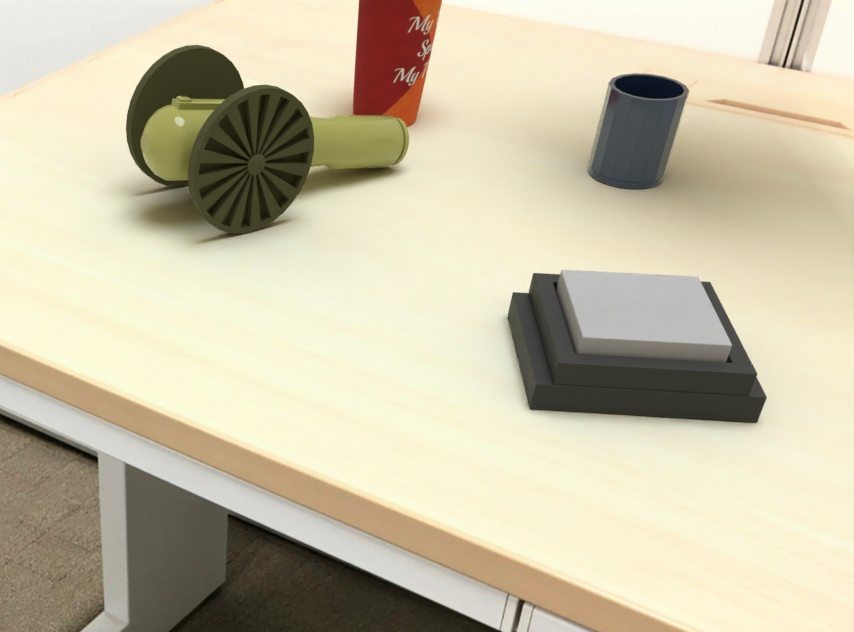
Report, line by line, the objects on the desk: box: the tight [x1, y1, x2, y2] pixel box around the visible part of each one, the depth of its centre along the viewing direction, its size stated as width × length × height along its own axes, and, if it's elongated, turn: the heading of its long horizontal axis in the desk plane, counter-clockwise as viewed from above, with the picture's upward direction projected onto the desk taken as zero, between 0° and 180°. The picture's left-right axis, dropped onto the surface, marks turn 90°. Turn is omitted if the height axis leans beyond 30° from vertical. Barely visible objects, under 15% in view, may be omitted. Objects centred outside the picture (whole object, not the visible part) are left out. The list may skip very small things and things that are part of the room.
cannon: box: [125, 44, 410, 235], centre depth 101 cm, size 25×12×11 cm, turn 117°
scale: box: [507, 272, 768, 423], centre depth 82 cm, size 14×12×4 cm
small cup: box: [587, 72, 690, 190], centre depth 105 cm, size 6×6×8 cm
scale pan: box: [556, 269, 732, 362], centre depth 81 cm, size 9×9×2 cm
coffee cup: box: [352, 0, 443, 127], centre depth 112 cm, size 8×8×15 cm
